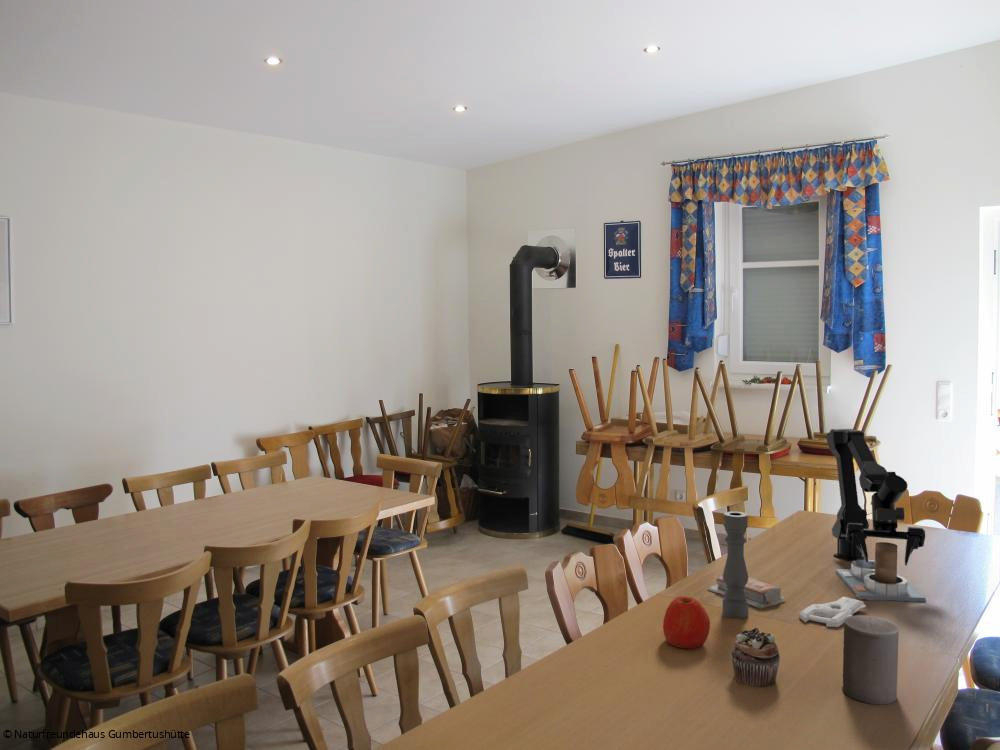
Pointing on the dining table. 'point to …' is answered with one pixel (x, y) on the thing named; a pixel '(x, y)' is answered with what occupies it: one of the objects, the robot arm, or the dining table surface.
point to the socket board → (879, 597)
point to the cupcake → (755, 658)
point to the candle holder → (735, 566)
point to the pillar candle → (870, 659)
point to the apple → (686, 623)
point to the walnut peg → (886, 562)
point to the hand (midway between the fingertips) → (886, 563)
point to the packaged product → (754, 592)
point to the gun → (832, 611)
